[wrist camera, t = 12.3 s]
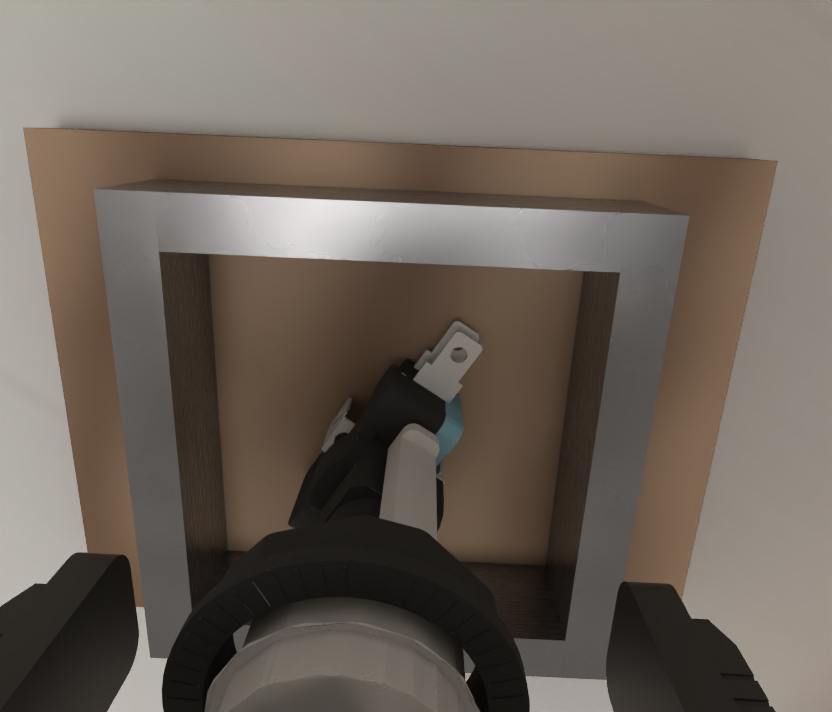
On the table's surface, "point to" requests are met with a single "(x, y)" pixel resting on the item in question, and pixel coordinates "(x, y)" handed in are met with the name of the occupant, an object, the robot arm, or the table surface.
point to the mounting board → (402, 333)
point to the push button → (359, 578)
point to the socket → (405, 243)
